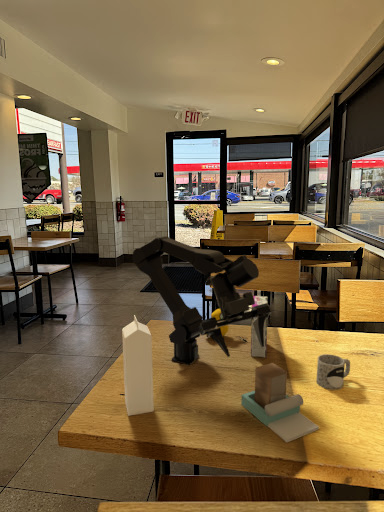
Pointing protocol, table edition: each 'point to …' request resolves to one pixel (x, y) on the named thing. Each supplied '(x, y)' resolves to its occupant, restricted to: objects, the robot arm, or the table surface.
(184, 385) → the table surface
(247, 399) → the teal rectangular frame
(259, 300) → the candy bar box
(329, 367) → the mug
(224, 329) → the duckling
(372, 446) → the table surface
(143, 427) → the table surface
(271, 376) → the brown block
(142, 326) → the milk
